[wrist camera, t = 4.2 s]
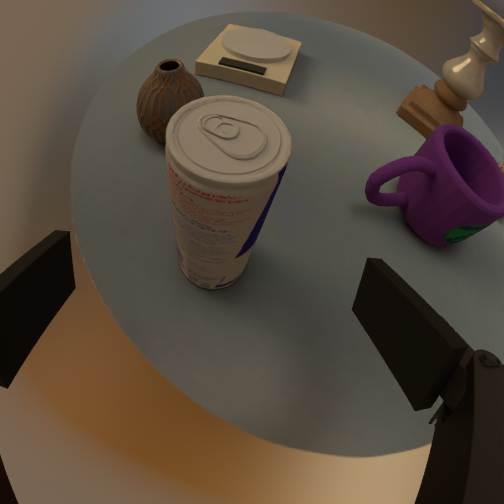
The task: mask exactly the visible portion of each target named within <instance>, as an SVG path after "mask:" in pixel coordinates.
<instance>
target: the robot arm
mask: <svg viewBox="0 0 504 504" xmlns="http://www.w3.org/2000/svg"><path fill="white" fill-rule="evenodd" d="M75 288H76V287H75V279H74V271H73V263H72V253H71V242H70V231H59V230H55V231H54V232H52V233H51V234H50V235H48V236H47V237H46V238H44V239H43V240H42V241H41V242H39V243H38V244H37V245H35V246H34V247H33V248H32V249H30V250H29V251H28V252H27V253H25V254H24V255H23V256H22V257H20V258H19V259H18V260H17V261H15V262H14V263H13V264H12V265H11V266H9V267H8V268H7V269H6V270H5V271H4V272H2V273H1V274H0V386H2V387H5V388H7V389H8V387H9V386H10V384H11V382H12V381H13V379H14V377H15V376H16V374H17V372H18V371H19V369H20V368H21V366H22V364H23V363H24V361H25V360H26V358H27V356H28V355H29V353H30V352H31V350H32V349H33V347H34V346H35V344H36V343H37V341H38V340H39V338H40V336H41V335H42V334H43V332H44V331H45V329H46V328H47V326H48V325H49V324H50V322H51V321H52V319H53V318H54V317H55V315H56V314H57V312H58V311H59V310H60V308H61V307H62V305H63V304H64V303H65V301H66V300H67V299H68V297H69V296H70V295H71V293H72V292H73V290H75ZM352 311H353V312H354V314H355V315H356V317H357V319H358V320H359V322H360V323H361V325H362V326H363V328H364V329H365V331H366V332H367V334H368V335H369V337H370V339H371V340H372V342H373V343H374V345H375V346H376V348H377V350H378V351H379V353H380V354H381V356H382V358H383V359H384V361H385V362H386V364H387V366H388V367H389V369H390V370H391V372H392V374H393V375H394V377H395V379H396V380H397V382H398V383H399V385H400V387H401V388H402V390H403V392H404V393H405V395H406V397H407V398H408V400H409V402H410V404H411V405H412V407H413V409H414V410H415V411H419V410H423V409H427V408H431V407H432V405H433V404H434V403H435V401H436V400H437V398H438V397H439V395H440V396H441V398H442V399H443V403H442V404H441V406H440V407H439V409H438V410H437V411H436V413H435V414H434V415H433V417H432V418H431V419H430V421H429V424H432V422H433V421H434V420H435V419H437V422H436V424H435V426H436V427H435V432H434V436H433V441H432V445H431V449H430V454H429V458H428V461H427V465H426V469H425V472H424V476H423V479H422V483H421V486H420V489H419V492H418V495H417V498H416V501H415V504H504V365H503V364H502V363H501V361H500V360H499V359H498V358H497V357H496V356H495V355H494V354H492V353H490V352H488V351H486V350H476V351H474V350H473V349H472V348H471V347H470V346H469V345H468V344H467V343H466V342H465V340H464V339H463V338H462V337H461V336H460V335H459V334H458V333H457V332H455V330H454V329H453V328H452V327H451V326H449V324H448V322H447V321H446V320H445V319H444V318H443V317H441V316H440V315H439V314H438V313H437V312H436V311H435V310H434V309H433V308H432V307H431V306H430V305H429V304H428V303H427V302H426V301H425V300H424V299H423V298H422V297H421V296H420V295H419V294H418V293H417V292H416V291H415V290H414V289H413V288H412V287H411V286H409V285H408V284H407V283H406V282H405V281H404V280H403V279H402V278H401V277H400V276H399V275H398V274H397V273H396V272H395V271H394V270H393V269H392V268H390V267H389V266H388V265H387V264H386V263H385V262H384V261H383V260H382V259H377V258H367V261H366V264H365V268H364V271H363V275H362V278H361V281H360V285H359V288H358V291H357V294H356V298H355V301H354V304H353V307H352ZM0 504H18V502H17V499H16V497H15V494H14V492H13V489H12V487H11V484H10V482H9V479H8V476H7V474H6V471H5V468H4V465H3V462H2V459H1V456H0Z"/></svg>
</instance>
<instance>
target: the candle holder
mask: <svg viewBox="0 0 504 504" xmlns="http://www.w3.org/2000/svg"><path fill="white" fill-rule="evenodd" d="M472 1H473V3H474V4H475V5H476V6H477V7H478V8H479V9H480V10H481V11H482V12H483V18H482V22H483V29H482V32H481V33H480V34H479V35H477V36H473V37H470V40H471V43H470V50H469V52H468V53H467V54H465V55H463V56H460V57H456V58H453V59H450V60H448V61H446V62H445V63H444V64H443V66H442V75H443V77H444V80H438V81H437V82H436V83H435V85H434V88H435V90H431V89H429V88H428V87H426V86H425V85H422V86H420V88H419V87H415V88H414V89H413V90H412V91H411V93H410V94H409V95H408V96H407V98H406V99H405V100H404V102H403V103H402V104H401V106H400V107H399V109H398V110H397V114H398V115H399V116H400V117H402V118H403V119H404V120H405V121H407V122H408V123H409V124H410V125H412V126H413V127H414V128H415V129H416V130H418V131H419V132H420V133H421V134H422V135H424V136H425V137H426V138H427V139H428V138H429V136H430V135H431V134H432V133H433V132H434V130H435V129H436V128H437V127H438V126H439V125H442V124H447V123H448V124H454V125H456V126H459V127H461V128H462V125H463V117H462V116H461V115H460V114H459V112H458V111H463V110H465V109H466V107H467V99H468V100H477V99H478V98H480V96H481V95H482V92H483V88H484V73H485V68H486V67H487V66H488V65H490V64H492V63H494V62H496V63H498V62H499V50H500V48H501V47H503V46H504V20H503V19H502V18H501V17H500V16H499V15H498V14H496V13H495V12H494V11H492V10H491V9H490V8H489V7H487V6H486V5H485V4H484V3H482V2H481V1H479V0H472Z"/></svg>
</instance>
